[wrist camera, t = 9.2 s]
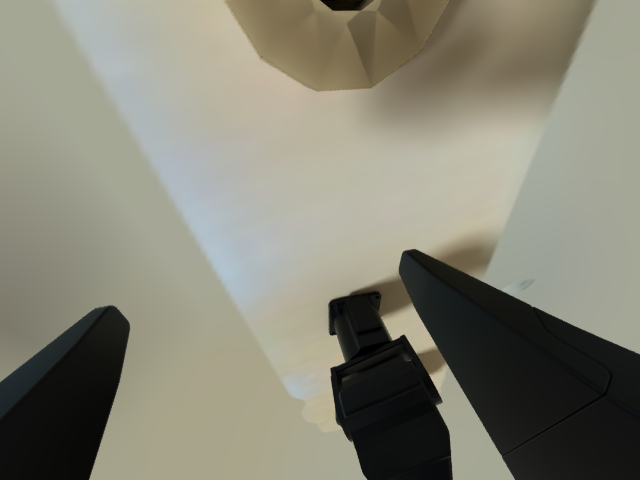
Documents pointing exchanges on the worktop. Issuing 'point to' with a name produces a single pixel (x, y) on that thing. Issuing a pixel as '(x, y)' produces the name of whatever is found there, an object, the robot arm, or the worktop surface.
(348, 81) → the bead
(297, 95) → the worktop surface
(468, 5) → the worktop surface
